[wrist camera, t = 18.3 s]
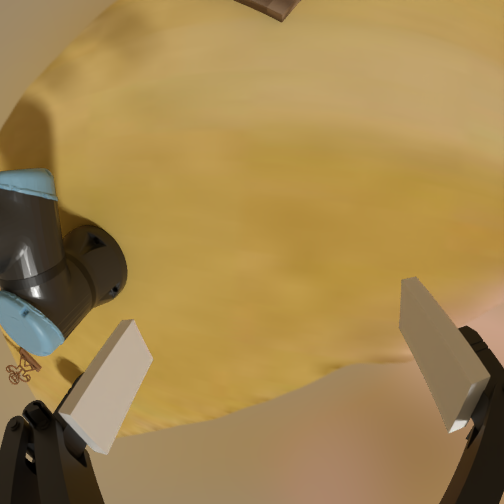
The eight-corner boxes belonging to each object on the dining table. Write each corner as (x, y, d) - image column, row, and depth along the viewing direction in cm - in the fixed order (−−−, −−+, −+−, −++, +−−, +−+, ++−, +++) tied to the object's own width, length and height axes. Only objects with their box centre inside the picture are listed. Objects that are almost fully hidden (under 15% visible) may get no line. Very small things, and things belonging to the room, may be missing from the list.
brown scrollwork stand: (41, 367, 66) (22, 391, 55) (39, 370, 67) (20, 394, 56) (22, 346, 64) (1, 369, 53) (20, 351, 65) (0, 373, 54)
